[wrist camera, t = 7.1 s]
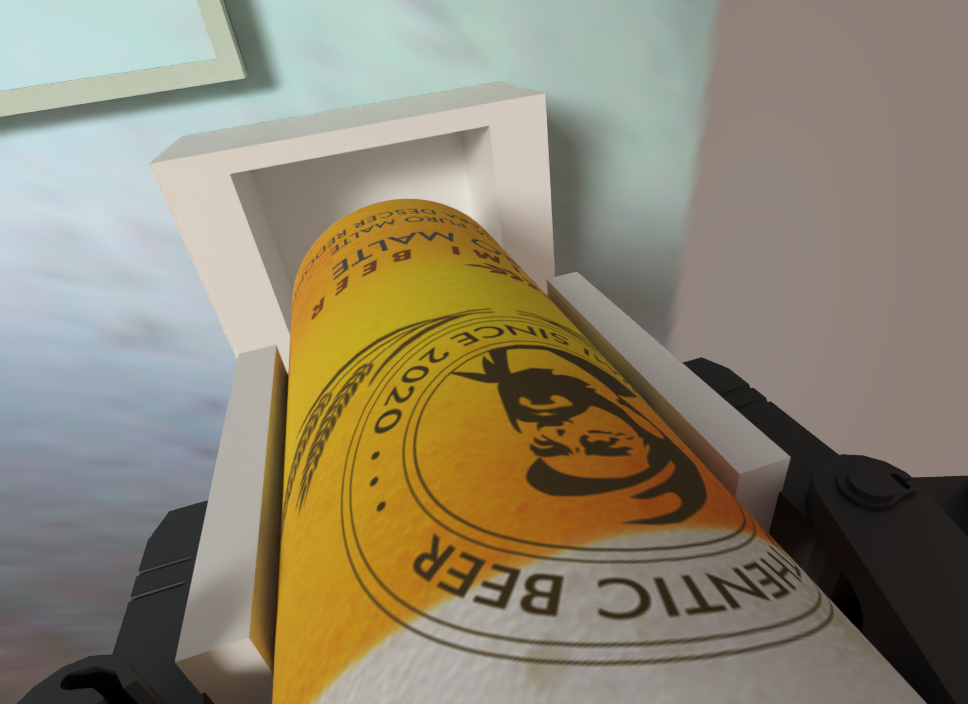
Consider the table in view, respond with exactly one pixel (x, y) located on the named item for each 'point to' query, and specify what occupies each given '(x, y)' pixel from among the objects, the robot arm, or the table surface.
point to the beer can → (513, 506)
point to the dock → (352, 190)
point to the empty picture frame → (140, 74)
